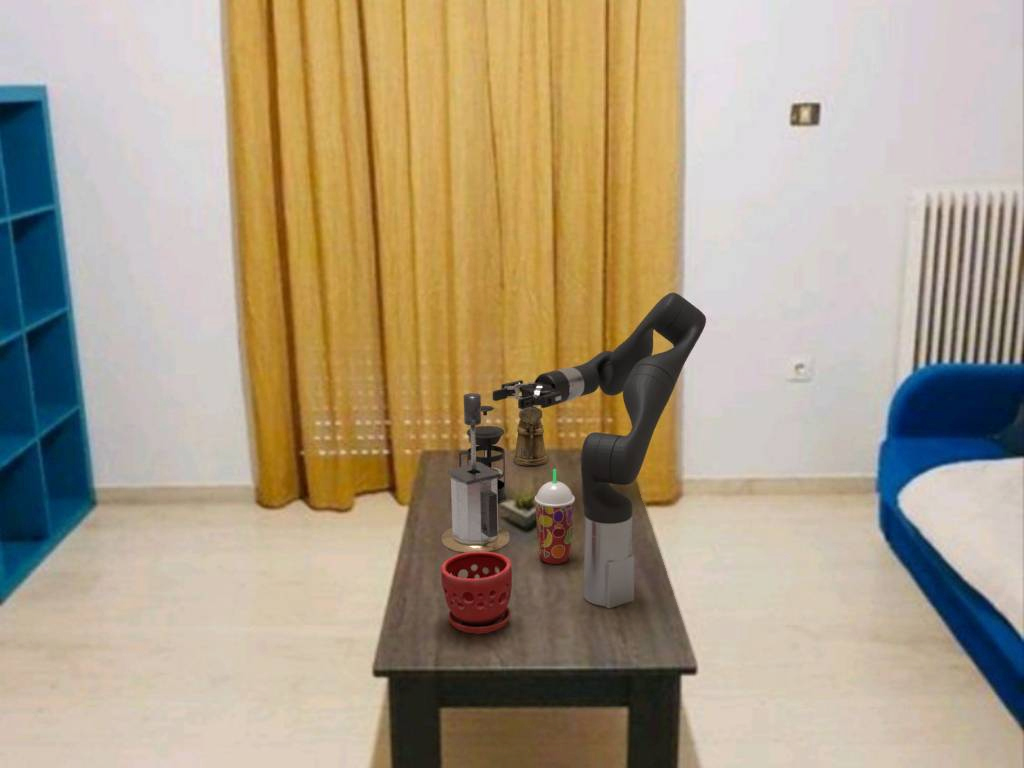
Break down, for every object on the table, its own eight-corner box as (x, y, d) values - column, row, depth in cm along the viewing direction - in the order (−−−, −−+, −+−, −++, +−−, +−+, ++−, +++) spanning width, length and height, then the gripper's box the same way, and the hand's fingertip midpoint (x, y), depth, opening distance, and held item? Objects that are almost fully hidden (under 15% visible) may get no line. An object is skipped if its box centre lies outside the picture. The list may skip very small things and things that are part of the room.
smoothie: (547, 547, 239) (546, 460, 233) (581, 555, 235) (581, 467, 229) (527, 561, 232) (526, 472, 226) (562, 570, 228) (562, 479, 222)
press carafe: (523, 543, 241) (522, 475, 236) (463, 559, 233) (461, 490, 229) (487, 520, 253) (486, 455, 249) (429, 535, 246) (427, 468, 242)
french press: (510, 490, 271) (509, 401, 265) (507, 505, 262) (506, 413, 256) (462, 490, 272) (460, 401, 265) (458, 504, 263) (455, 412, 256)
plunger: (498, 496, 239) (496, 397, 233) (467, 503, 236) (465, 403, 229) (480, 485, 246) (478, 388, 239) (450, 492, 242) (447, 394, 236)
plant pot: (507, 603, 214) (506, 546, 211) (517, 636, 201) (516, 576, 198) (440, 608, 212) (438, 551, 209) (445, 642, 200) (444, 582, 196)
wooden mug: (513, 473, 283) (512, 406, 278) (513, 455, 296) (512, 391, 291) (548, 472, 283) (547, 405, 278) (546, 455, 296) (546, 390, 291)
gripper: (538, 364, 256) (484, 377, 245) (581, 376, 245) (528, 390, 235) (538, 395, 258) (485, 409, 247) (581, 408, 248) (528, 423, 237)
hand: (506, 400), depth 241 cm, fingers open, 8 cm apart
